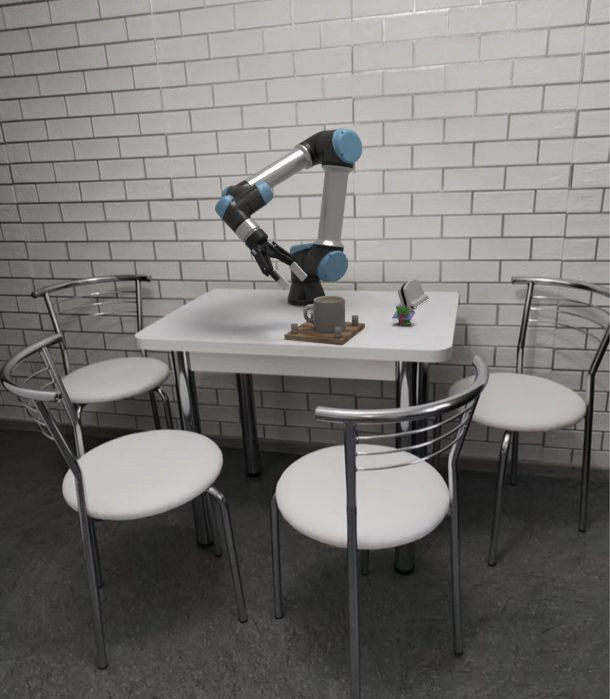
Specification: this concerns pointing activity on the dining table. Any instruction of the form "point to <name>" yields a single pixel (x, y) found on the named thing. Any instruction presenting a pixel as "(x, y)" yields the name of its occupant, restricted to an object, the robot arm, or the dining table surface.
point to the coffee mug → (327, 313)
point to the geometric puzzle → (404, 314)
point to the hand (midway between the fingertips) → (296, 282)
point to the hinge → (411, 293)
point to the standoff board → (338, 337)
